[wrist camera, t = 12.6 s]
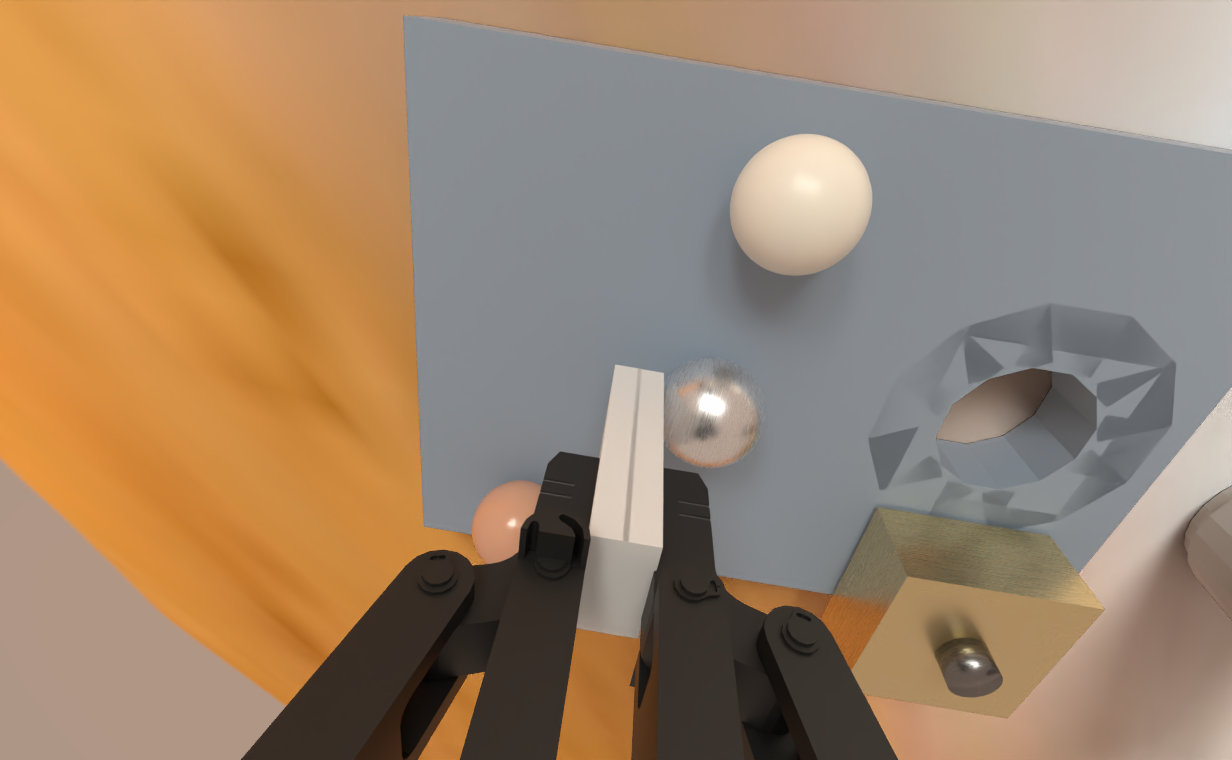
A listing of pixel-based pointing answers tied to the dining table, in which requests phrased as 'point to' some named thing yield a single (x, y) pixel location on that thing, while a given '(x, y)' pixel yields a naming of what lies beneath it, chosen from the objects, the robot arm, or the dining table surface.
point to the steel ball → (712, 412)
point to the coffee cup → (1213, 548)
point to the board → (803, 293)
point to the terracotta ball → (503, 519)
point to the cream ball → (801, 204)
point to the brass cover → (956, 612)
